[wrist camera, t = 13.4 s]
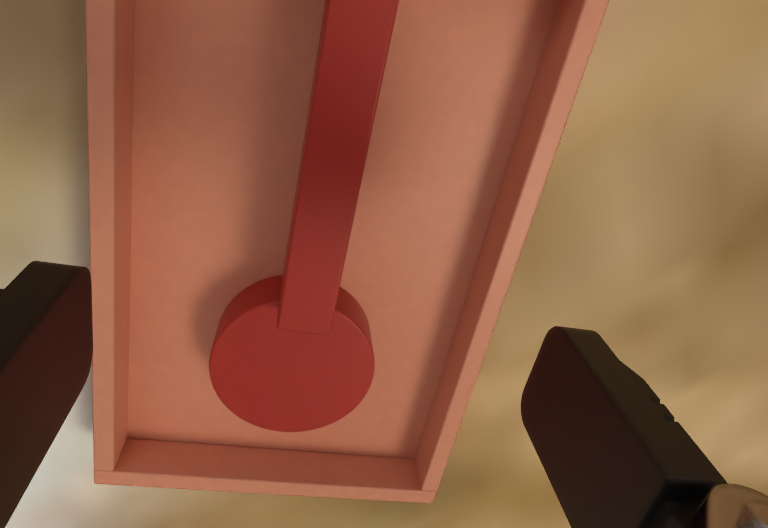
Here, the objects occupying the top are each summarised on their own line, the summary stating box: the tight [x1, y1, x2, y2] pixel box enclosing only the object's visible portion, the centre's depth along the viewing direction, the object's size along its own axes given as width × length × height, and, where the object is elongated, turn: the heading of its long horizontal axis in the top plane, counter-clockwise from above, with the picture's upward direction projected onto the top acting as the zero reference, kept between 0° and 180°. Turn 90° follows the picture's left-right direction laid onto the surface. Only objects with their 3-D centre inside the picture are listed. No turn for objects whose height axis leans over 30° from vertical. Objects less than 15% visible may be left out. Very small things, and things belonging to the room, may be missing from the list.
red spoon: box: [209, 0, 399, 432], centre depth 15 cm, size 13×5×3 cm, turn 168°
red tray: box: [86, 0, 609, 503], centre depth 16 cm, size 17×11×2 cm, turn 168°
